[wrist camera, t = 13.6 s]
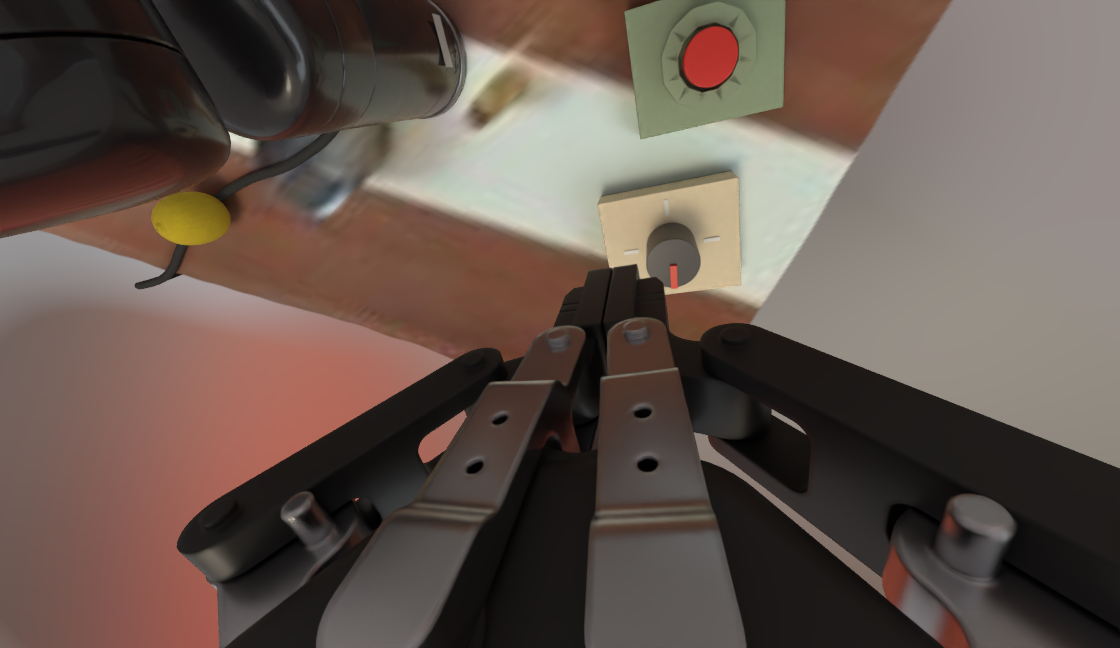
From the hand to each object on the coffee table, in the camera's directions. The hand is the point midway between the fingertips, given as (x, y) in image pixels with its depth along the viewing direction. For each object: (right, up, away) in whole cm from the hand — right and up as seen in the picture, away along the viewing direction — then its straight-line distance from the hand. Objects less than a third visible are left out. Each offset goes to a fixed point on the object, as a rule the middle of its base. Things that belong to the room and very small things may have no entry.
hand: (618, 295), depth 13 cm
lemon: (-42, +13, +36) cm, 56 cm away
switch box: (+10, +20, +20) cm, 30 cm away
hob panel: (+9, +8, +28) cm, 30 cm away
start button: (+9, +19, +17) cm, 27 cm away
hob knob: (+8, +6, +25) cm, 27 cm away
